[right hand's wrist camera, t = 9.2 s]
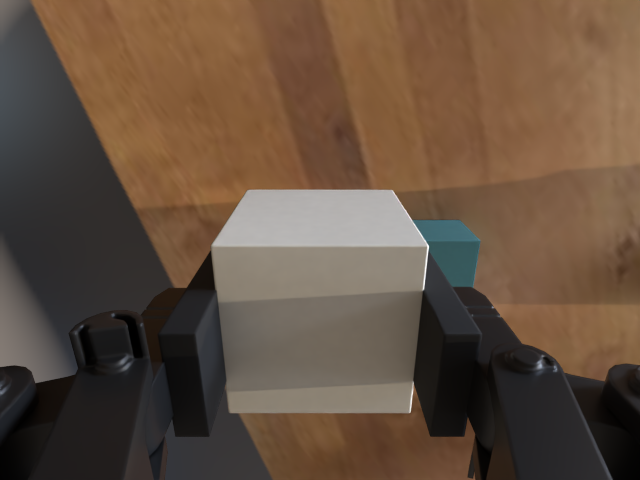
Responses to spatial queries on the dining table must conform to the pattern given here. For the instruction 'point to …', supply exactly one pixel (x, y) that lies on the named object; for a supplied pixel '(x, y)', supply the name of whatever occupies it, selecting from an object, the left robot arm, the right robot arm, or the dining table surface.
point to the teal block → (452, 249)
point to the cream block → (319, 301)
